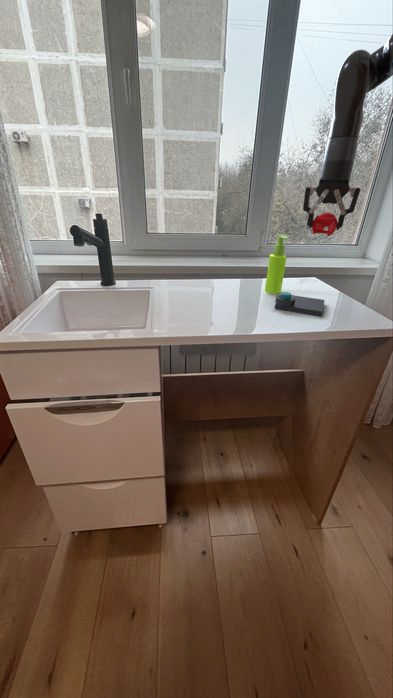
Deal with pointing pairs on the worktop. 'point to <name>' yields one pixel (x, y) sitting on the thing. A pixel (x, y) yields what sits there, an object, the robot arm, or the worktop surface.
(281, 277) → the soap dispenser
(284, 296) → the tare button
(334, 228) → the cap
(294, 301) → the scale
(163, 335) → the worktop surface
